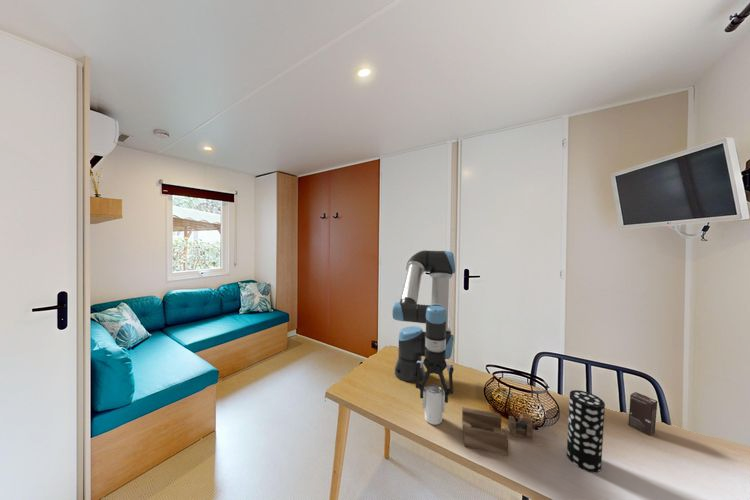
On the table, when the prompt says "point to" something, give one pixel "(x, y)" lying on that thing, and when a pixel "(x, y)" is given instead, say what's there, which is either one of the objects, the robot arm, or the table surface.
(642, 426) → the box
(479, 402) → the table surface
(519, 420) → the keeper
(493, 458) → the table surface
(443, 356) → the robot arm
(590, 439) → the white-spotted black cylinder
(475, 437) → the hitch block
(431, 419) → the can
